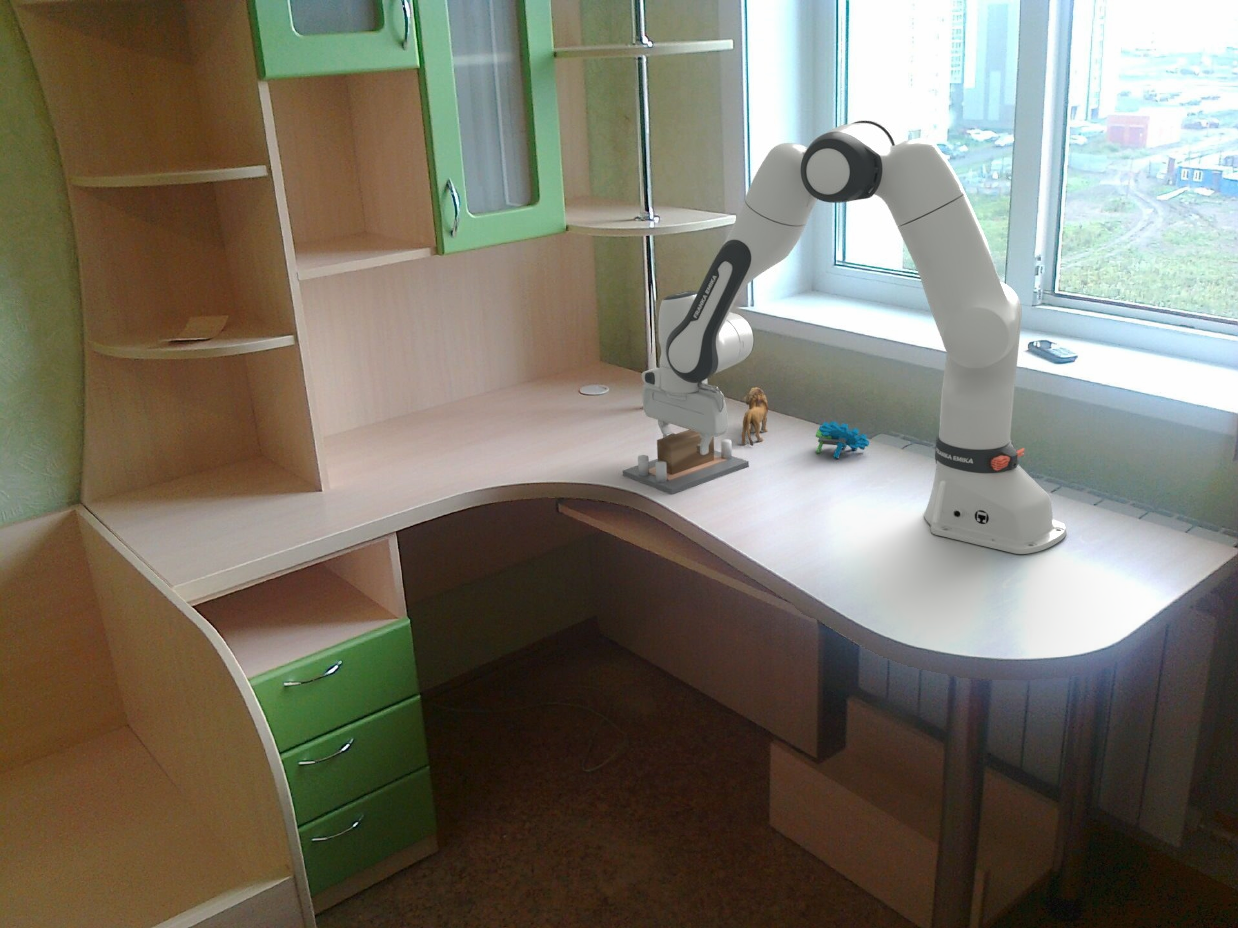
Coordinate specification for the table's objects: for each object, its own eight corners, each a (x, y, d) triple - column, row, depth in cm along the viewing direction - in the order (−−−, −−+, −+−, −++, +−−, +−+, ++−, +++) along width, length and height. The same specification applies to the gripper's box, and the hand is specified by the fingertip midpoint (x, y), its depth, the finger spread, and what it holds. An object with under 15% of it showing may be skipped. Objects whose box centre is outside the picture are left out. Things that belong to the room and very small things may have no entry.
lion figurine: (743, 425, 234) (743, 385, 231) (768, 425, 234) (768, 385, 230) (739, 448, 221) (739, 405, 218) (766, 448, 220) (766, 406, 217)
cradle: (748, 466, 211) (748, 444, 209) (671, 494, 199) (671, 471, 197) (698, 449, 221) (698, 428, 219) (622, 475, 209) (621, 453, 208)
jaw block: (714, 460, 211) (713, 430, 209) (672, 474, 205) (671, 444, 203) (699, 455, 214) (699, 426, 212) (657, 469, 208) (656, 439, 206)
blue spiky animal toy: (879, 445, 214) (855, 419, 207) (869, 472, 212) (844, 446, 206) (832, 441, 222) (808, 416, 215) (822, 467, 220) (797, 442, 213)
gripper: (735, 384, 198) (736, 456, 203) (660, 365, 213) (662, 432, 218) (710, 392, 194) (711, 465, 199) (635, 371, 209) (638, 440, 214)
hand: (685, 447), depth 208 cm, fingers open, 8 cm apart
